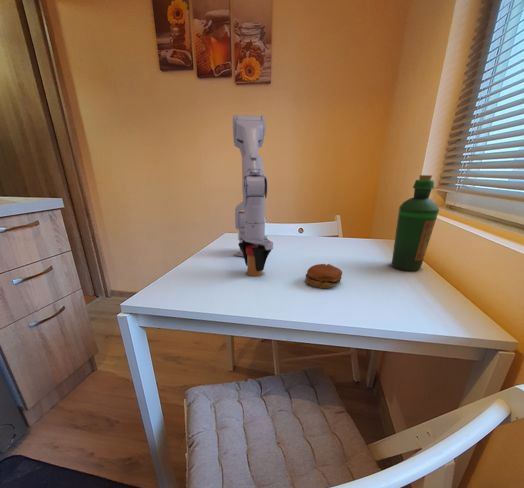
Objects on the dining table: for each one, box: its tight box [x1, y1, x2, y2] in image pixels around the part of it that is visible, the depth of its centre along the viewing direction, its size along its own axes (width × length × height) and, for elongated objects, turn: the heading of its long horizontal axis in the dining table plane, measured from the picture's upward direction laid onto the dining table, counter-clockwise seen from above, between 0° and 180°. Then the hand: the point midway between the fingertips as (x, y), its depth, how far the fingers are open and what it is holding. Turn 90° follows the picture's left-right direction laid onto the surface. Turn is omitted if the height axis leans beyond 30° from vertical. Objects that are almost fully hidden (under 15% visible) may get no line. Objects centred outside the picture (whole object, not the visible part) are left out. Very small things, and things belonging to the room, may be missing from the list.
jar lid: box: [246, 245, 258, 256], centre depth 81 cm, size 5×5×2 cm
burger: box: [305, 263, 343, 289], centre depth 77 cm, size 10×9×5 cm
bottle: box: [391, 174, 440, 272], centre depth 85 cm, size 11×11×28 cm
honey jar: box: [246, 255, 263, 277], centre depth 82 cm, size 4×4×8 cm
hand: (254, 267), depth 83 cm, fingers closed on jar lid, 5 cm apart
